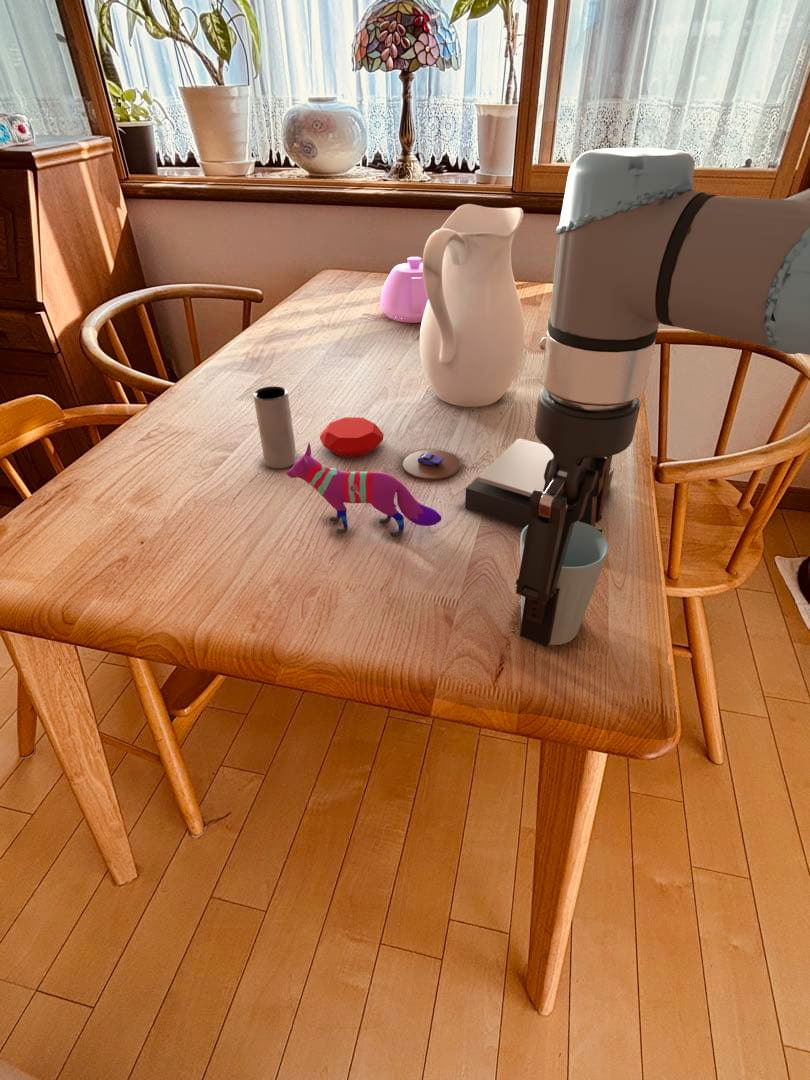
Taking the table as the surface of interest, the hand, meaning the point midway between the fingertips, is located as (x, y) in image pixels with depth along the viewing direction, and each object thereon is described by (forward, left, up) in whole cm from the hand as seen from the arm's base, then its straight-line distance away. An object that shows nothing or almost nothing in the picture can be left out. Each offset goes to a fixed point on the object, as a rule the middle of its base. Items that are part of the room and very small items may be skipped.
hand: (551, 613), depth 60 cm
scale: (+10, -21, -2) cm, 23 cm away
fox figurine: (+25, -4, -2) cm, 25 cm away
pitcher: (+33, -42, -2) cm, 53 cm away
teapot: (+65, -79, -2) cm, 102 cm away
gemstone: (+39, -20, -2) cm, 44 cm away
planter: (+45, -11, -2) cm, 46 cm away
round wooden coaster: (+26, -21, -2) cm, 33 cm away
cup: (0, 0, -2) cm, 2 cm away
